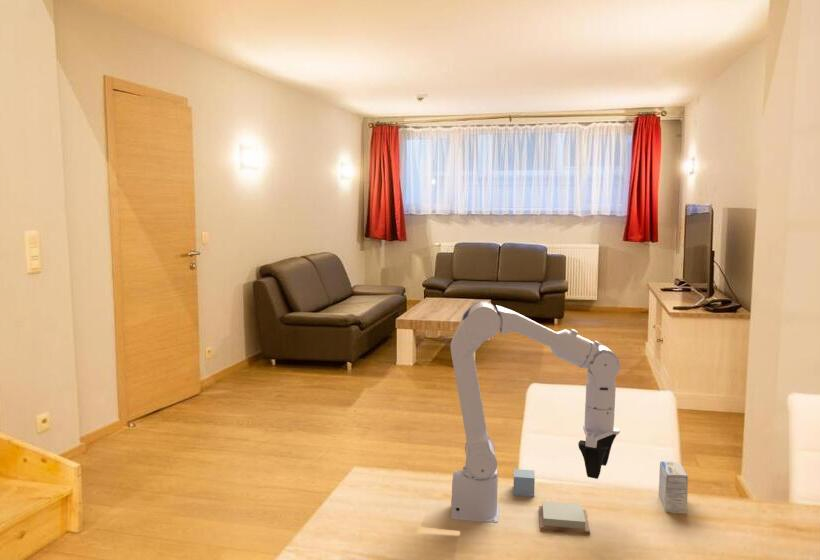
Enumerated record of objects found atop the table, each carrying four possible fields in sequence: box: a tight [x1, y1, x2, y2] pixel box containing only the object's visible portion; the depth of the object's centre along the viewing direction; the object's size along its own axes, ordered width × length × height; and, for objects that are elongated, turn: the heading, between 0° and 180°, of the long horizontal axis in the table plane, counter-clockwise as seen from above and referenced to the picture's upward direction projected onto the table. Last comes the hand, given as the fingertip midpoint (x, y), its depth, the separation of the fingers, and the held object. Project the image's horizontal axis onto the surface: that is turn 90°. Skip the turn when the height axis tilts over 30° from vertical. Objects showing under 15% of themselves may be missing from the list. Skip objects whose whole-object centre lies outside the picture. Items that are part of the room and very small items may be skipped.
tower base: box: [538, 505, 591, 536], centre depth 134 cm, size 10×10×2 cm
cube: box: [512, 468, 536, 498], centre depth 147 cm, size 4×4×4 cm
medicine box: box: [658, 460, 689, 514], centre depth 140 cm, size 8×4×9 cm, turn 168°
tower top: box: [541, 500, 585, 529], centre depth 134 cm, size 8×8×2 cm
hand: (597, 470), depth 135 cm, fingers open, 7 cm apart
